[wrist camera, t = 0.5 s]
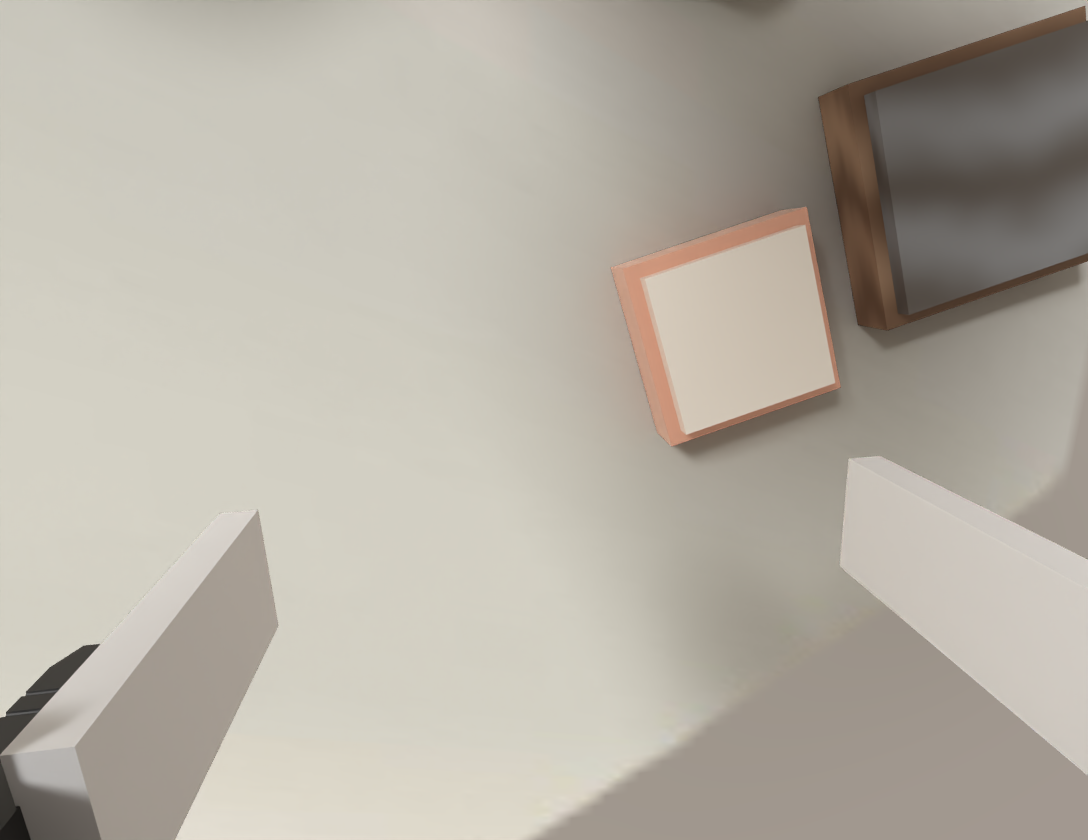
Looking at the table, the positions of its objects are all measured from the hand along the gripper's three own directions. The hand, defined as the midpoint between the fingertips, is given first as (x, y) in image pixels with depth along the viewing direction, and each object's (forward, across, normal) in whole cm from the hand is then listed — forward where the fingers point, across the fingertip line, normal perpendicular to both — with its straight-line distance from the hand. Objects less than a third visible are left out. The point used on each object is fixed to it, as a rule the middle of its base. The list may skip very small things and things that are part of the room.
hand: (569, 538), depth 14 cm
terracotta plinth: (+26, +14, +1) cm, 29 cm away
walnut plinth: (+26, +28, +9) cm, 39 cm away
